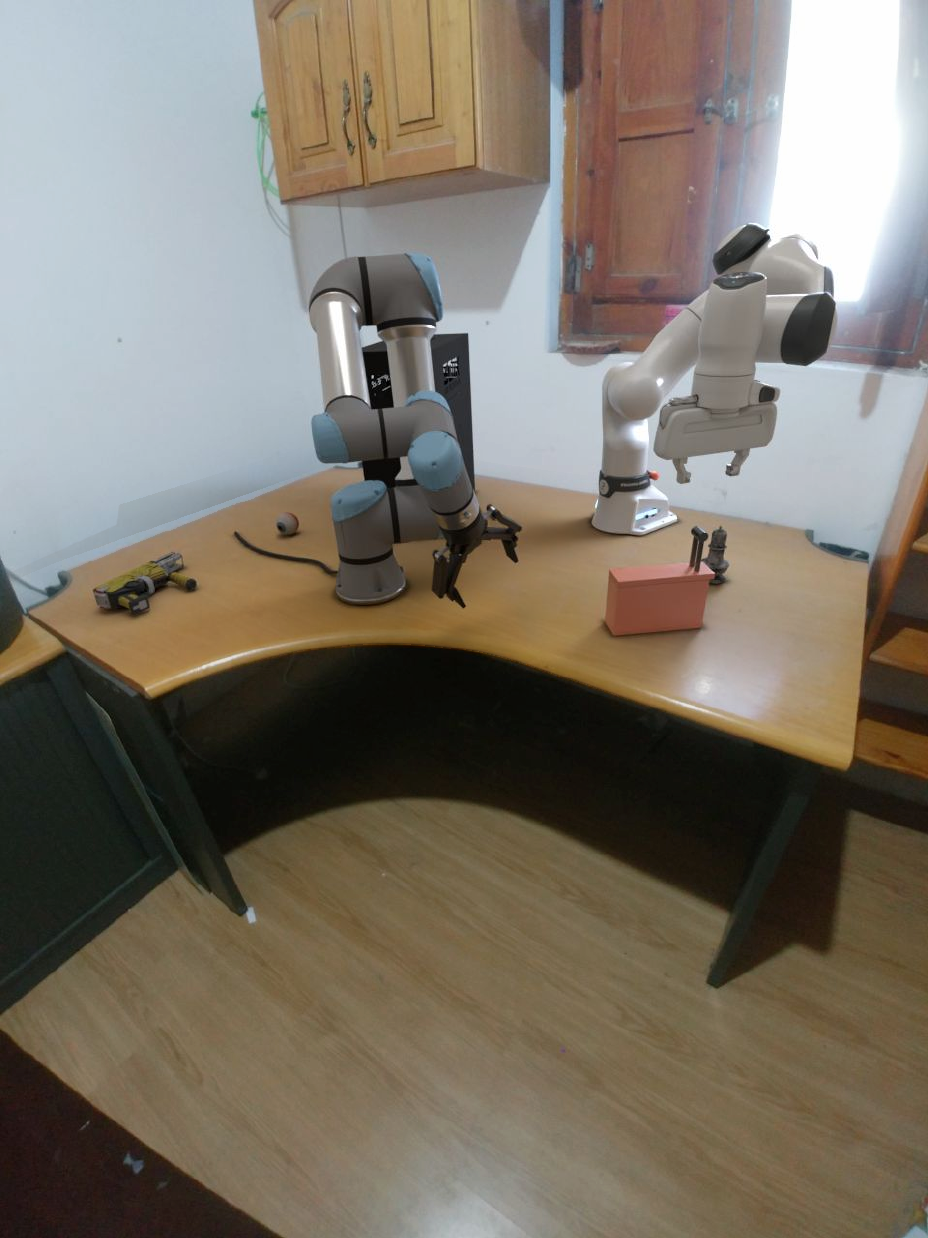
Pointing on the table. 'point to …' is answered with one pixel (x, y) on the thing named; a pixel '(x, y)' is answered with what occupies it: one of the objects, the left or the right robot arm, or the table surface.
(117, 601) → the toy gun
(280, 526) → the eyeball
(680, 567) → the lid
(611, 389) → the right robot arm
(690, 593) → the chest
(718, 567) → the salt shaker
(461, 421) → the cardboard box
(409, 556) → the table surface
